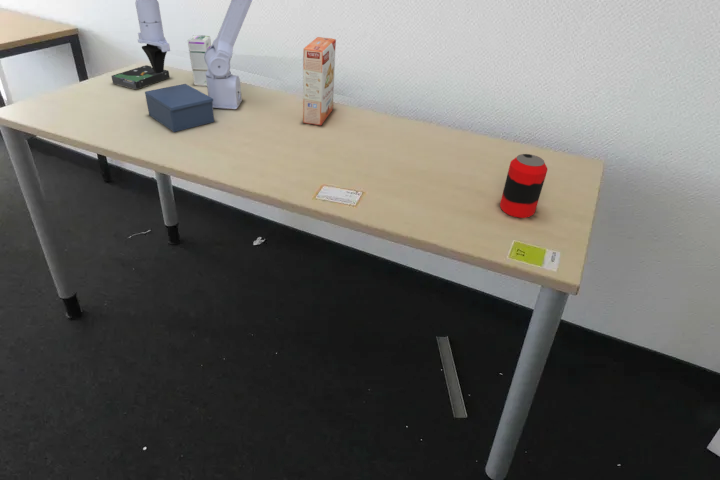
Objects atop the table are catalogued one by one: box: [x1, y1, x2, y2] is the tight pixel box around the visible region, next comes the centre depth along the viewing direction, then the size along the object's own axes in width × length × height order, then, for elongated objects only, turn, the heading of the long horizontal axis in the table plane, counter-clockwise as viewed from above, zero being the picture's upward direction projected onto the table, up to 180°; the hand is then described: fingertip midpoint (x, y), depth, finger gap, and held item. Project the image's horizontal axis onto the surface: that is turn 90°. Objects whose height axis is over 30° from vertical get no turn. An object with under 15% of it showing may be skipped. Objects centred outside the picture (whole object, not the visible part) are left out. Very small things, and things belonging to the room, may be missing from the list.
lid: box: [144, 83, 213, 111], centre depth 139 cm, size 15×12×1 cm
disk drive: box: [111, 64, 170, 90], centre depth 166 cm, size 10×3×15 cm
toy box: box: [144, 94, 215, 133], centre depth 141 cm, size 15×12×6 cm
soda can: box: [499, 153, 548, 219], centre depth 109 cm, size 8×8×12 cm
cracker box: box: [302, 36, 337, 126], centre depth 144 cm, size 14×6×21 cm, turn 168°
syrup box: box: [187, 34, 212, 87], centre depth 164 cm, size 6×6×14 cm
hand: (158, 72), depth 143 cm, fingers closed
